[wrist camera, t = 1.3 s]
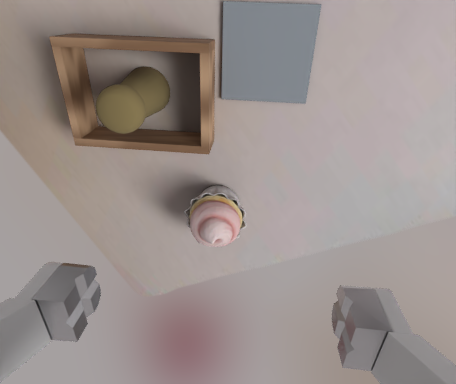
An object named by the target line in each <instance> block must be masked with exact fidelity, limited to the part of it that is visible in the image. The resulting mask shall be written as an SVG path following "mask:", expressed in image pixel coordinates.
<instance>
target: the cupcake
mask: <svg viewBox="0 0 456 384" xmlns="http://www.w3.org/2000/svg"><path fill="white" fill-rule="evenodd" d="M184 213H185V214H186V216H187V217H188V221H187V225H188V227H190V228H191V232H192V234H193V236H194V237H195V239H196V240H197V241H198V242H200V243H201V244H203V245H206V246H213V247H219V246H225V245H227V244H230V243H231V242H233V241H234V240H235V239H236V238H238V237H240V230H242V229H244V228H246V227H247V224H246V222H245V221H244V217H245V216H246V212H245V210H244V209H243V208H242V207H241V205H240V202H239V199H238V197H237V195H236V194H235V193H234V192H233V191H232V190H231V189H229V188H228V187H225V186H219V185H217V186H212V187H209V188H207V189H205V190H204V191H203V192H202V193H201V194H200V195H199V196H198V197H196V198H194V199H191V202H190V207H189V208H188V209H186V210H185V211H184Z"/></svg>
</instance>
